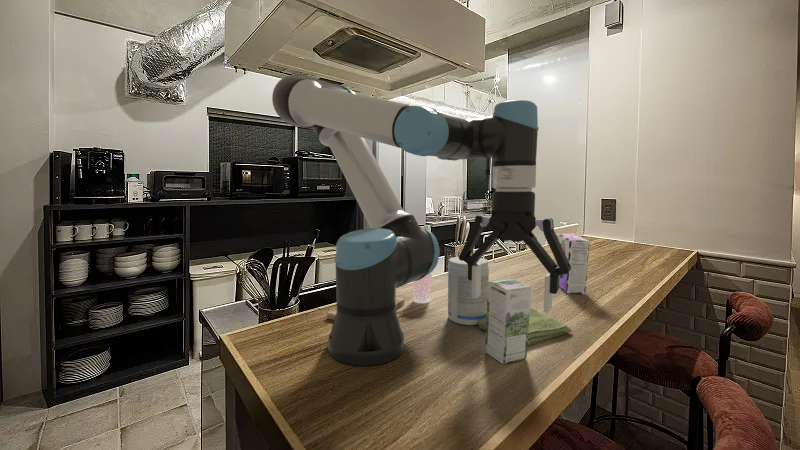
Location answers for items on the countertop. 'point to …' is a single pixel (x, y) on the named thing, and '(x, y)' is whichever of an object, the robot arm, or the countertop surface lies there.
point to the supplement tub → (466, 293)
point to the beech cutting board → (332, 313)
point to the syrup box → (507, 320)
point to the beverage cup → (422, 289)
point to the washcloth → (539, 327)
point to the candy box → (574, 263)
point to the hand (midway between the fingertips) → (509, 303)
